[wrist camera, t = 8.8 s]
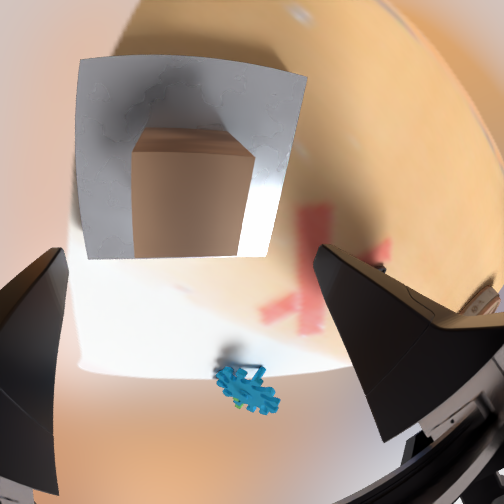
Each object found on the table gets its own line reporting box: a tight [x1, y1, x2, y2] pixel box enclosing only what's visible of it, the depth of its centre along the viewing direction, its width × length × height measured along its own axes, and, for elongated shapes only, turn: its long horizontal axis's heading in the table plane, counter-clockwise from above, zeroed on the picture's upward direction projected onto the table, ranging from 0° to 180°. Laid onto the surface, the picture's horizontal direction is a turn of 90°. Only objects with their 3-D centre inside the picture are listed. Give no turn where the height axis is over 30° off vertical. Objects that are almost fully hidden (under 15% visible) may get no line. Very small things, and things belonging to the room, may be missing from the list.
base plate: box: [75, 55, 307, 259], centre depth 17 cm, size 14×14×2 cm
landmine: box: [459, 286, 501, 316], centre depth 60 cm, size 24×24×10 cm
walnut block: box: [131, 127, 256, 258], centre depth 14 cm, size 5×5×6 cm
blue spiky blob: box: [215, 367, 280, 415], centre depth 36 cm, size 11×6×10 cm
